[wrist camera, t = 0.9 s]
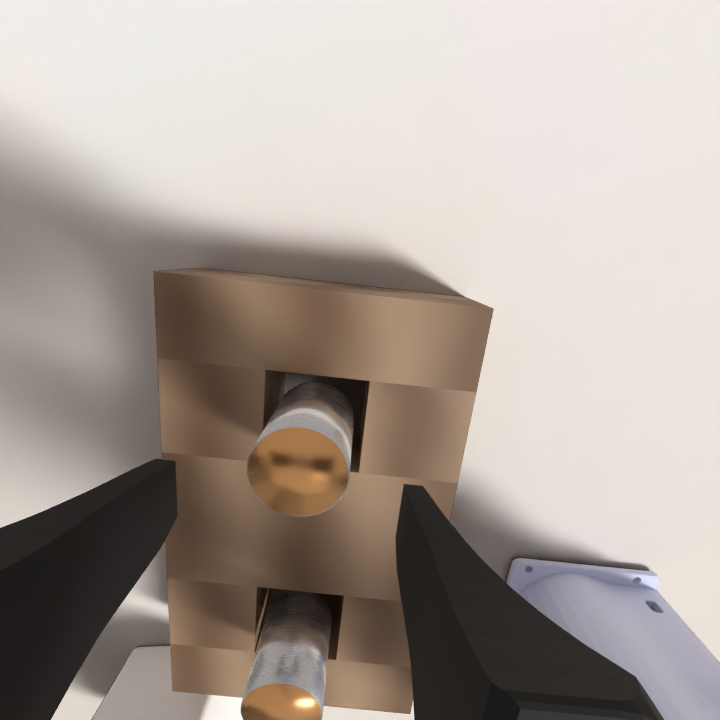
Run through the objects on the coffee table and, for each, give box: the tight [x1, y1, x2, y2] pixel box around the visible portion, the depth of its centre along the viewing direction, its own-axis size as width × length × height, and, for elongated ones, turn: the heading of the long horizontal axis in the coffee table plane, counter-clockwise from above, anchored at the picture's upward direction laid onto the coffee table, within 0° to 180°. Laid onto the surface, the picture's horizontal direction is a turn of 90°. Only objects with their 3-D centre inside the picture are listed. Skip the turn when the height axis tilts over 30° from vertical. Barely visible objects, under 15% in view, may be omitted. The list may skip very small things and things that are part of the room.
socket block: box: [154, 268, 493, 714], centre depth 21 cm, size 14×24×4 cm, turn 174°
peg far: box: [240, 591, 332, 720], centre depth 18 cm, size 4×4×4 cm
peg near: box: [247, 382, 354, 517], centre depth 15 cm, size 4×4×4 cm
